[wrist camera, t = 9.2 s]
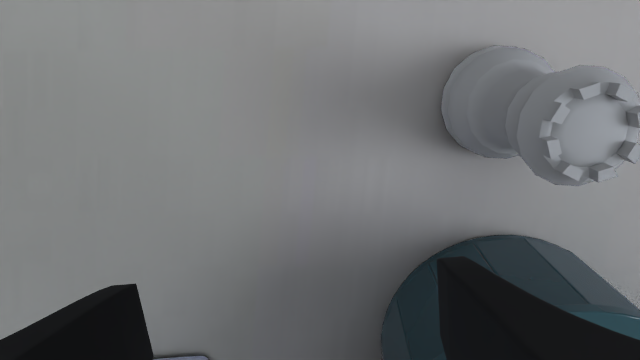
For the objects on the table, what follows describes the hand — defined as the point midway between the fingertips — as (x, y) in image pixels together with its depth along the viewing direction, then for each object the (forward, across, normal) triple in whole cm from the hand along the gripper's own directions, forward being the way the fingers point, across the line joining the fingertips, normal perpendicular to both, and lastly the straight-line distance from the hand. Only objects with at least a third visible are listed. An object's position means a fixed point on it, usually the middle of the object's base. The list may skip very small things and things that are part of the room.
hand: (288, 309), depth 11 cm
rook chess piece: (+10, -8, -3) cm, 13 cm away
